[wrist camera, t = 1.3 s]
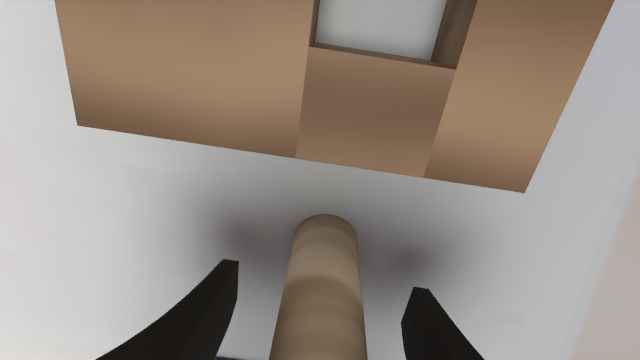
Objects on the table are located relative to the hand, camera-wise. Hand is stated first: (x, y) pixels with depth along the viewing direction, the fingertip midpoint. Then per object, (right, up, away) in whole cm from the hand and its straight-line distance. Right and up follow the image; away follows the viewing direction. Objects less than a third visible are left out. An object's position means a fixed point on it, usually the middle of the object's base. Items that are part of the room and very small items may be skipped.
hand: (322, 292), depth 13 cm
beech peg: (0, +2, +3) cm, 4 cm away
